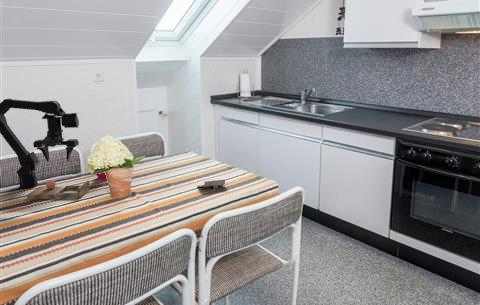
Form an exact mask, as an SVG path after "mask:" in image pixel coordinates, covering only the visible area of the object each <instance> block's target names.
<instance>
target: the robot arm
mask: <svg viewBox="0 0 480 305" xmlns="http://www.w3.org/2000/svg"><path fill="white" fill-rule="evenodd" d="M11 109H19V110H30V111H38V112H41V113H45V114H44V115H42V117H41V119H42V120H46V121H47V123H46V124H47V131H46V136H45V137H44V138H43V139H36V140H34V141H33V143H32V145H33V148H36V149H37V150H39V151H40V152H41V153H42V154H43V156H44V158H45V160H46V162H49V161H50V152H49V151H50V150H49V147H51V148H53V147H56V146H65V151H66V152H65V153H66V162H69V161H70V158H71V155H72V153H73V150H74V148H76V147H77V146H79V144H80V143H79V139H77V138H70V139H67V140H64V139H65V138H64V137H63V132H64V130H63V129H62V127H64V128H65V129H67V128H68V129H73V128H74V129H76V128H77V129H78V128H79V125H80V120H79V117H78V115H77V114H78V113H77V112H73V113H71V112H70V113H69V112H68V113H67V112H66V111H64V110H63V108H62V107H61V104H60V103H59V102H58V100H43V101H37V100H36V101H35V100H22V99H12V98H5V99H3V100H2V101H1V102H0V135H1V136H2V138H3V139H4V140H5V142H6V143H7V144H8V146H9V147H10V148H11V150H12V151H13V152H14V153H15V155H16V156H17V159H18V163H19V165H20V168H18V169H17V171H16V174H17V176H18V181H19V186H17V188H18V189H32V188H34V187H36V186H37V185H39V183H38V176H37V175H36V172H35V171H36V170H37V168H38V167H39V165H40V161H39V157H38V156H37V155H36V153H35V152H34V151H31V152H30V151H28V150H27V149H26V147H25V146H24V144H22V142H21V141H20V140H19V138H18V137H17V135H16V134H15V132H13V130H12V129H11V127H10V126H9V125H8V121H7V118H6V116H5V114H6V113H8V111H10V110H11Z"/></svg>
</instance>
